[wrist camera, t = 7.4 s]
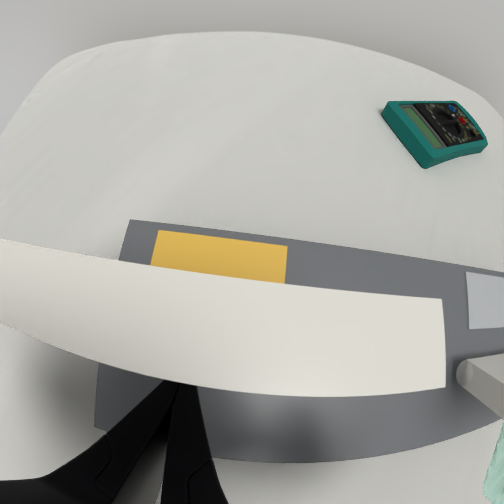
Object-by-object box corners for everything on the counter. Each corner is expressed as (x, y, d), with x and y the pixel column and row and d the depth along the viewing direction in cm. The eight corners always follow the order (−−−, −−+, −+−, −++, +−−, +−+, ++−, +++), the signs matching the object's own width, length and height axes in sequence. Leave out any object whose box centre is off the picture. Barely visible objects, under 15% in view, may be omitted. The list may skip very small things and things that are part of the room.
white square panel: (306, 390, 12) (445, 387, 3) (103, 357, 12) (-47, 295, 3) (309, 358, 13) (441, 298, 4) (109, 327, 12) (-25, 233, 4)
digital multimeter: (481, 154, 24) (493, 141, 22) (419, 173, 22) (435, 154, 19) (447, 111, 26) (457, 97, 24) (376, 117, 24) (386, 96, 21)
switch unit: (499, 409, 14) (519, 410, 11) (112, 418, 13) (93, 427, 11) (502, 283, 18) (521, 275, 15) (142, 236, 17) (129, 218, 15)
